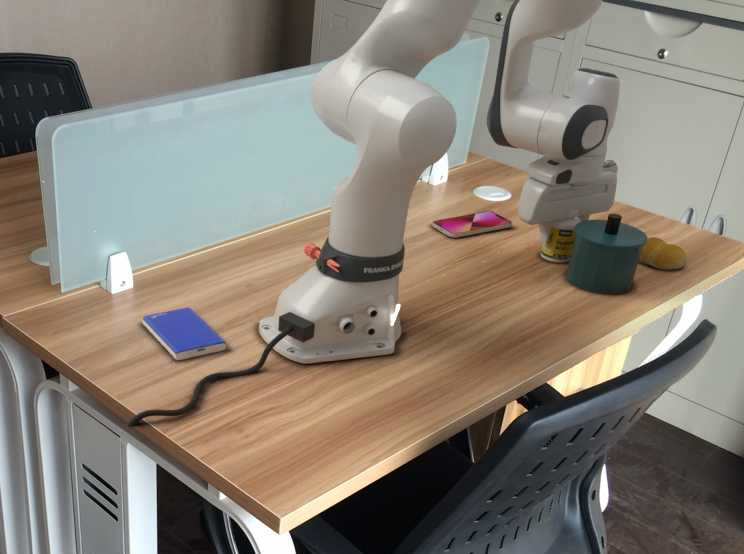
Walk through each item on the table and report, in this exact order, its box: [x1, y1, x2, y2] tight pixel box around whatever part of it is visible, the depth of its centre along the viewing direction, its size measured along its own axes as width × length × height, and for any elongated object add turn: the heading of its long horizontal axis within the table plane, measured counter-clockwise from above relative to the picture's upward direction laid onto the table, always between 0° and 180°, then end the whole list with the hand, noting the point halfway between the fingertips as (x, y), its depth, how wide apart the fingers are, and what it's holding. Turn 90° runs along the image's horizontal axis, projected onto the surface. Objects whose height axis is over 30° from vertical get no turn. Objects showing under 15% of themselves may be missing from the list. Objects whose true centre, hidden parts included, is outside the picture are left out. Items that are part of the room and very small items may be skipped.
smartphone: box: [431, 210, 513, 238], centre depth 187 cm, size 7×1×15 cm
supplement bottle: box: [540, 210, 579, 264], centre depth 173 cm, size 5×5×10 cm
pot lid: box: [574, 213, 648, 249], centre depth 162 cm, size 12×12×4 cm
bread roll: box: [638, 236, 687, 271], centre depth 175 cm, size 8×9×4 cm
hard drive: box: [142, 307, 227, 361], centre depth 144 cm, size 2×8×12 cm
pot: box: [565, 235, 643, 295], centre depth 165 cm, size 11×11×8 cm
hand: (559, 239), depth 174 cm, fingers closed on supplement bottle, 5 cm apart
